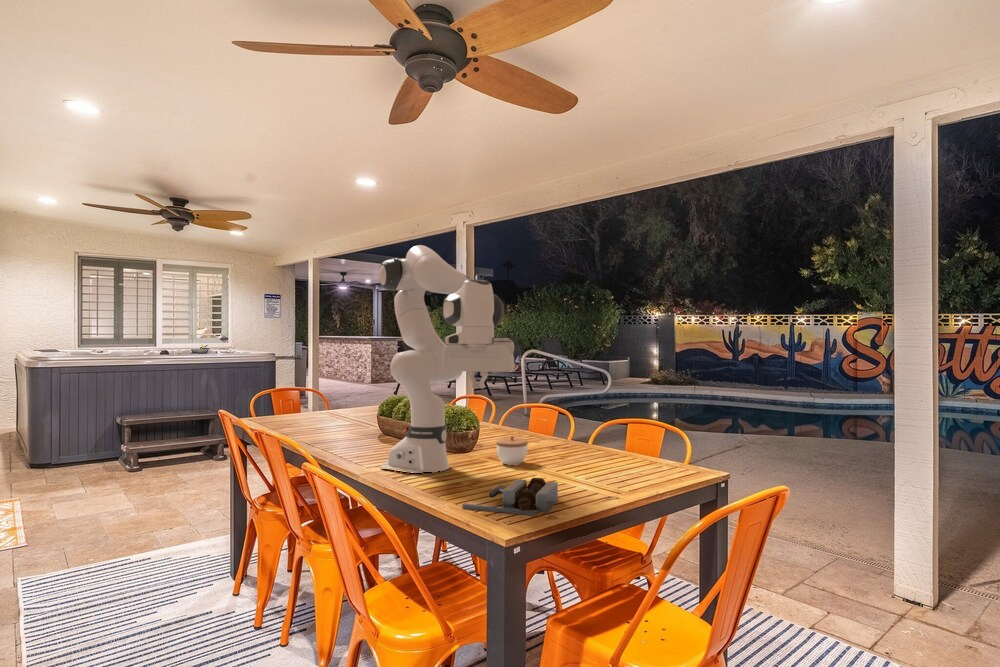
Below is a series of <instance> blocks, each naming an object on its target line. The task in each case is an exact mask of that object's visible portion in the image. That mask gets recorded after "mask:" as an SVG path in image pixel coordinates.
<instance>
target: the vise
mask: <svg viewBox="0 0 1000 667" xmlns="http://www.w3.org/2000/svg"><path fill="white" fill-rule="evenodd" d="M558 486H559V484H558V482H556V481H555V482H554V481H547V482H546V485H545V486H544V487H543V488H541V489H540V490H539V491H538V492H537V494H536V504H535V507H536V510H534V509H533V510H532V509H527V510H524V509H521V508H516V507H515V508H505V507H503V506H492V505H485V504H474V503H467V502H466V503H463V504H461V505H462V506H461V509H466V510H467V509H468V510H473V509H475V511H482V510H483V512H492V511H494V513H501V512H503V513H504V514H513V515H521V516H532V517H537V513H539V514H546V515H547V514H548V512H549V511H550V510H551V509H552V507H553V506H554V505H555V504H557V502H558V500H559V497H558V496H559V494H558V492H559V490H558V488H559V487H558ZM484 510H485V511H484ZM503 513H502V514H503Z"/></svg>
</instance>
